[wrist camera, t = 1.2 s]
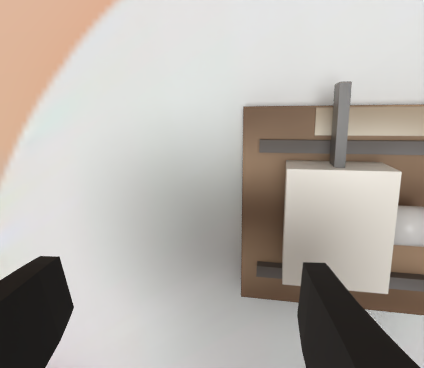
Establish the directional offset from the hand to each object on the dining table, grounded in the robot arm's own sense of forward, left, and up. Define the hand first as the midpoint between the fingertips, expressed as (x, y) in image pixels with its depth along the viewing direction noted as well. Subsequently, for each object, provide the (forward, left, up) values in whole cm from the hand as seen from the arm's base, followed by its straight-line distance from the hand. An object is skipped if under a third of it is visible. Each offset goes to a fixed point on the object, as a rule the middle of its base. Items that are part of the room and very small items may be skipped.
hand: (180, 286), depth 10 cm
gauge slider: (+1, -7, -11) cm, 13 cm away
